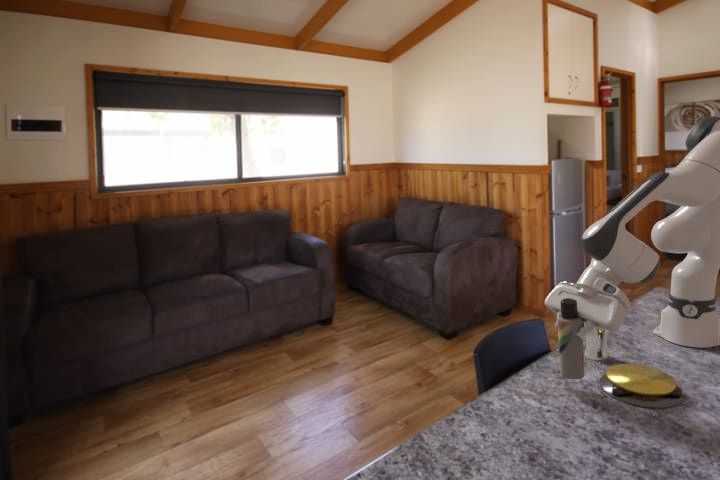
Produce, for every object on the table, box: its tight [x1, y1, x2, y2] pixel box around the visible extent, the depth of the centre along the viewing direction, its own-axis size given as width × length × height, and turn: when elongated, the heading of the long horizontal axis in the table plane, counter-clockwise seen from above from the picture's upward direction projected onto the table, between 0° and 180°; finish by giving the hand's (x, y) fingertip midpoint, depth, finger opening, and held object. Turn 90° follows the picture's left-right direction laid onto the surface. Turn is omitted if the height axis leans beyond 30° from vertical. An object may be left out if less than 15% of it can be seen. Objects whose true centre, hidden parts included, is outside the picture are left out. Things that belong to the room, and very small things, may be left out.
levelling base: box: [599, 363, 684, 410], centre depth 117 cm, size 18×18×3 cm
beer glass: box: [583, 322, 611, 361], centre depth 135 cm, size 7×7×15 cm
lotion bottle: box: [557, 298, 585, 380], centre depth 118 cm, size 6×6×20 cm
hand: (567, 332), depth 118 cm, fingers closed on lotion bottle, 5 cm apart
